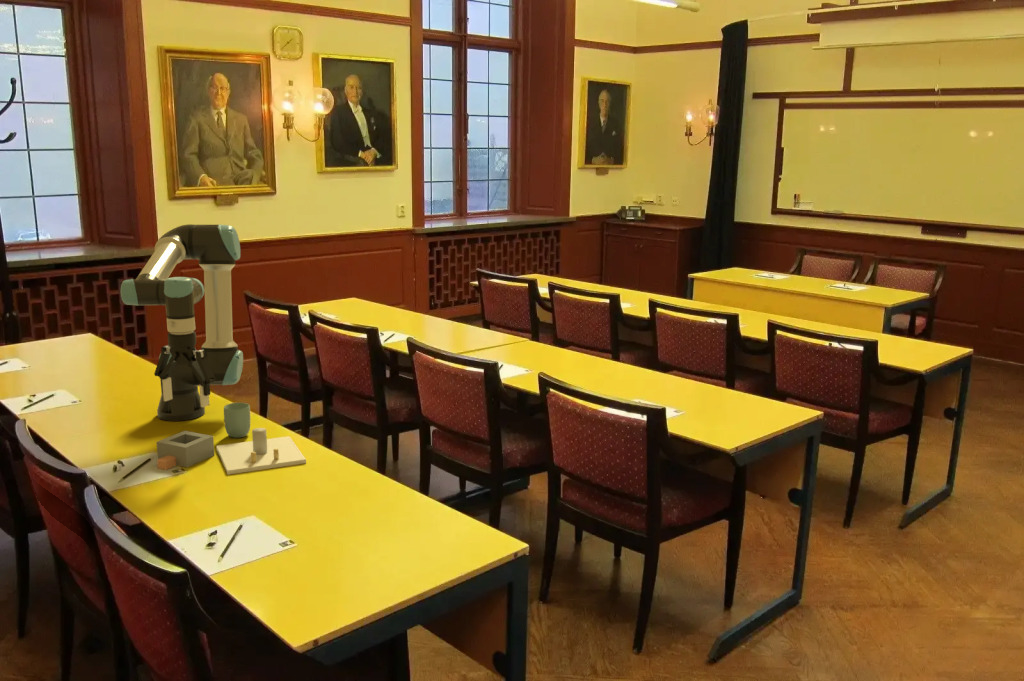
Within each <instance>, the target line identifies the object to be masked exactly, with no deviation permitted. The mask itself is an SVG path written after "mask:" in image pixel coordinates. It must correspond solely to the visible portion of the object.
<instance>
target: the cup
mask: <svg viewBox="0 0 1024 681" xmlns="http://www.w3.org/2000/svg"><path fill="white" fill-rule="evenodd" d="M251 419H252V418H251V406H250V404H249V403H247V402H232V403H228V404H225V405H224V407H223V420H224V428H225V432H226V434H227V435H228V436H229V437H230V438H235V439H240V438H244V437H246V436H247V435H248V434H249V433H250V430H251Z"/></svg>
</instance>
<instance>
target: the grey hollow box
mask: <svg viewBox="0 0 1024 681" xmlns="http://www.w3.org/2000/svg"><path fill="white" fill-rule="evenodd" d="M214 445H215V443H214V435H209V434H205V433H204V434H203V433H198V432H194V431H188V430H183V431H180V432H179V433H176V434H173V435H171V436H168V437H166V438H163V439H160V440H158V441H156V449H157V450H156V451H157V452H156V453H157V460H156V462H157V469H159V470H166V471H167V470H168V469H171V468H173V467H175V466H179V467H184V468H189V467H191V466H193V465H196V464H198V463H200V462H203V461H204V460H205V461H206V460H207V459H210V458H212V457H214V456H215V446H214Z"/></svg>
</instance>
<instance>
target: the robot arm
mask: <svg viewBox="0 0 1024 681" xmlns="http://www.w3.org/2000/svg"><path fill="white" fill-rule="evenodd" d="M240 259H241V244H240V238H239V235H238V233H237V230H236V228H235V227H234V226H232V225H229V224H190V223H189V224H182V225H179V226H177V227H174V228H172V229H170V230H168V231H167V232H165V233H164V234H162V236H161V237H159V239H158V240H157V241H156V243H155V245H154V252H153V253H152V255H151V256H150V258H149V259H148V261H147V262H146V263H145V265H144V267H142V269H141V271H140V272H139V274H138V276H137V277H136V278H134V279H133V278H130V279H125V280H123V281H122V282H121V285H120V298H121V301H122V302H123V304H124V305H126V306H128V305H129V306H165V315H166V328H167V329H166V330H167V332H168V333H167V345H164V346H161V347H160V354H159V356H158V357H159V358H158V362H157V365H156V368H155V370H154V372H153V373H154V376H155V377H158V378H159V379H160V389H161V390H160V391H161V395H160V399H159V402H158V406H157V410H156V411H157V412H156V414H157V418H158V419H159V420H163V421H169V422H178V421H188V420H194V419H197V418H199V417H201V416H204V415H205V413H206V410H205V407H208V406H209V405H210V395H211V386H220V385H222V386H228V385H235V384H237V383H238V382H239V381H240V378H241V375H242V373H243V366H244V352H243V351H242V350H240V349H238V348H239V347H238V344H237V343H236V342H235V341H234V339H233V334H234V333H233V331H234V330H233V305H232V304H233V301H232V298H233V296H232V294H233V293H232V270H233V268H234V267H235V266H236V261H238V260H240ZM183 260H198V265H199V267H201V268H202V270H203V278H204V279H203V281H204V284H203V283H202V281H201V280H199V279H198V278H196V277H195V278H194V277H187V276H173V277H170V276H171V274H172V272H173V271H174V269H176V268H175V267H176V266H177V264H180V263H182V262H183ZM203 296H204V310H205V312H204V314H205V316H204V318H205V341H204V343H202V345H201V349H199V350H197V349H196V344H197V333H196V331H195V330H196V329H197V328H196V321H195V320H196V318H195V304H197V303H199V302H201V300H202V299H203ZM198 386H199V387H198Z"/></svg>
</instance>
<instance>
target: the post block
mask: <svg viewBox="0 0 1024 681" xmlns="http://www.w3.org/2000/svg"><path fill="white" fill-rule="evenodd" d="M251 431H252V432H251V433H252V436H251V438H252V440H251V441H243V442H235V443H234V442H233V443H228V444H219V445H216V452H217V453H218V455H219V458H220V461H221V462H222V465H223V467H224V469H225V472H226V474H227V475H229V476H230V475H235V474H241V473H248V472H255V471H261V470H267V469H276V468H281V467H289V466H296V465H301V464H302V465H303V464H307V459H306V457H305V456H304V454H303V453H302V452H301V450H300V449H299V448H298V446H297V445H296V443H295V442H294V440H293V439H292V438H291V436H290V435H289V436H288V435H287V436H280V437H273V438H267V428H264V427H257V428H253V429H252V430H251Z"/></svg>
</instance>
